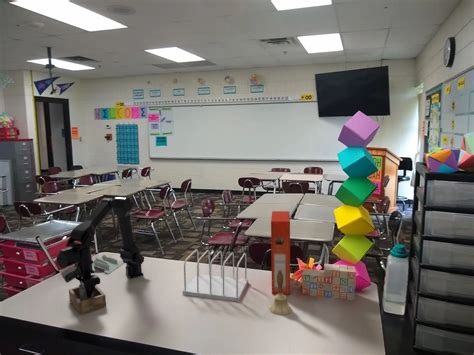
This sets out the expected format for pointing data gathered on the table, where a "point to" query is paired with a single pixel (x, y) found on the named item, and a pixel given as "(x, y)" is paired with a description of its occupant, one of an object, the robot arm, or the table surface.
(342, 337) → the table surface
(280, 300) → the hand bell
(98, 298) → the open wooden box
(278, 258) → the file binder
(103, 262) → the metal bracket
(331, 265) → the stack of blocks
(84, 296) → the dice cube
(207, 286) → the file sorter
